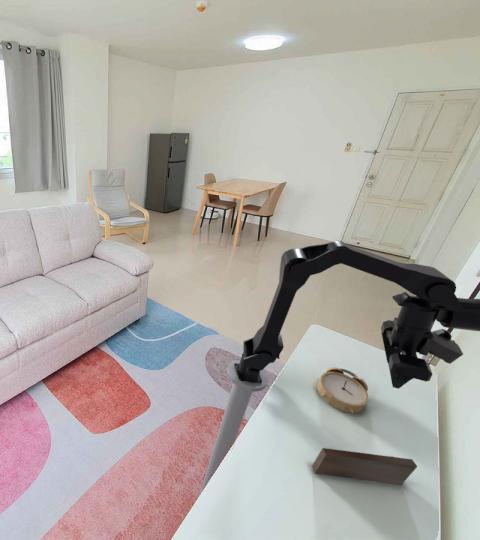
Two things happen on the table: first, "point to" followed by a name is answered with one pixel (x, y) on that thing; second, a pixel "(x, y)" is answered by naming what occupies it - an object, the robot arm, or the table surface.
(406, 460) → the shelf back
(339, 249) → the robot arm
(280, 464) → the table surface
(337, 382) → the alarm clock
